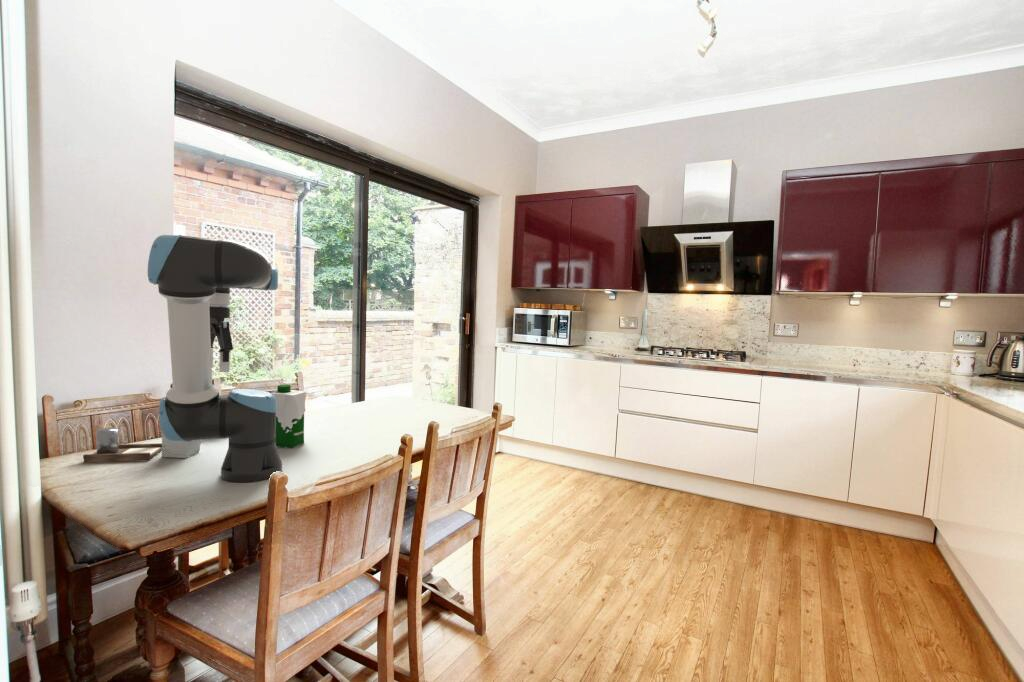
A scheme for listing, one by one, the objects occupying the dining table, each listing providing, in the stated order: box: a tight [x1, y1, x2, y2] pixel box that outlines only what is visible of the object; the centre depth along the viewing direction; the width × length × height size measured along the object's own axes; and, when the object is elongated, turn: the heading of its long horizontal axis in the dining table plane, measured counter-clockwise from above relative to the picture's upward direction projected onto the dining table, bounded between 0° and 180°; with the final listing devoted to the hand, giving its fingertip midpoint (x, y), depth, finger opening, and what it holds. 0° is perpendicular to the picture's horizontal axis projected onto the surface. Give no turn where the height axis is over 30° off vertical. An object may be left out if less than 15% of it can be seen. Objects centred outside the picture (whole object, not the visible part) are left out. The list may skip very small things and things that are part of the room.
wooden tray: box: [82, 442, 162, 463], centre depth 144 cm, size 16×11×2 cm, turn 106°
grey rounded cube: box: [96, 426, 120, 454], centre depth 143 cm, size 5×5×7 cm
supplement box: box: [161, 432, 201, 459], centre depth 148 cm, size 7×7×13 cm
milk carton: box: [271, 384, 307, 449], centre depth 163 cm, size 9×9×20 cm
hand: (215, 369), depth 161 cm, fingers open, 13 cm apart
